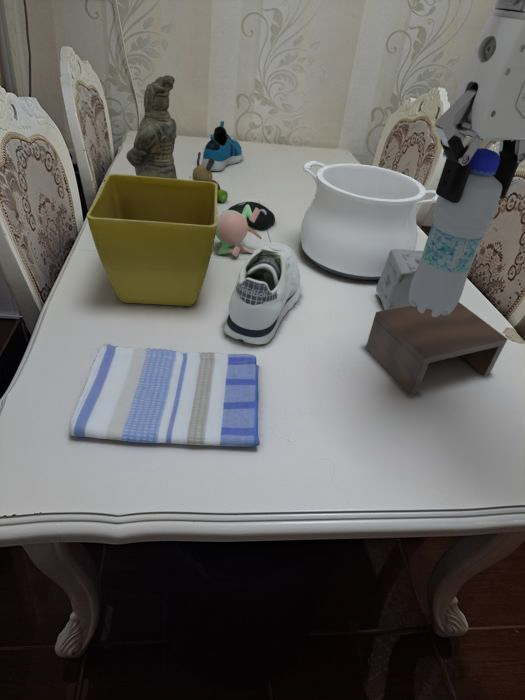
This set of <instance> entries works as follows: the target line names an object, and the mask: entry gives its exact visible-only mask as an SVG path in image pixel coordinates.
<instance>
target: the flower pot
mask: <svg viewBox="0 0 525 700" xmlns="http://www.w3.org/2000/svg"><path fill="white" fill-rule="evenodd" d="M217 189H218V185H217V184H216V183H214V182H207V181H195V180H193V179H183V178H177V179H172V178H160V177H148V176H136V174H135V175H134V174H133V175H132V174H125V173H110V174H108V175H107V176H106V178H105V179H104V182H103V184H102V186H101V188H100V189H99V192H98V194H97V195H96V197H95V199H94V201H93V202H92V204H91V206H90V208H89V209H88V212H87V213H86V218H87V222H88V226H89V230H90V234H91V237H92V240H93V243H94V246H95V249H96V252H97V254H98V256H99V260H100V263H101V266H102V267H103V269H104V272H105V274H106V277H107V278H108V281H109V282H110V284H111V286H112V288H113V290H114V292H115V294H116V296H117V297H118V299H119V301H121V302H122V303H124V304H125V303H128V304H142V305H143V304H144V305H164V306H167V305H168V306H179V307H180V306H182V307H183V306H184V307H191V306H193V305H195V304H196V301H197V299H198V297H199V294H200V292H201V290H202V286H203V284H204V281H205V278H206V276H207V271H208V268H209V265H210V261H211V257H212V254H213V249H214V245H215V239H216V229H217V216H218V200H217Z"/></svg>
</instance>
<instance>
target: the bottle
mask: <svg viewBox="0 0 525 700" xmlns="http://www.w3.org/2000/svg"><path fill="white" fill-rule="evenodd" d="M499 163H500V155H499V153H498V152H496V151H495V150H493V149H490V148H479V147H478V149H477V150H476V152H475V153H474V155H473V156H472V158H471V160H470V161H469V163H468V165H470V166H472V167H471V171H470V174H469V177H468V180H467V182H466V185H465V188H464V191H463V194H462V196H461V199H460V201H459V202H458V203H452V202H450V201H448V200H446V199H444V198H442V197H440V196H438V198H437V200H436V203H435V207H434V209H433V211H432V213H433V221H432V224H431V226H430V229H429V232H428V235H427V238H426V242H425V245H424V247H423V250H422V251H423V254H422V257H421V260H420V263H419V265H418V267H417V270H416V272H415V275H414V277H413V280H412V282H411V286H410V291H409V302H410V304H411V305H412V306H413V307H416V306H417V309H418V312H420V313H424V312H425V310H426V309H431V310H432V316H433V317H438V316H439V315H440V314H442V315H448V314H450V313H451V312H452V311H453V310H454V308H455V307H456V306H457V304H458V302H459V303H460V300H461V297H462V294H463V292H464V288H465V285H466V281H467V279H468V276H469V272H470V270H471V268H472V265H473V262H474V261H475V260H474V259H475V258H476V255H477V253H478V250H479V248H480V245H481V243H482V240H483V237H484V234H485V233H486V231H487V230H488V229H489V228H491V226H492V222H493V220H494V218H495V217H496V215H497V211H498V207H499V203H500V200H501V199H500V195H501V192H502V184H501V183H500V182H499V181H498V180H497V179H496V178H495V177H493V176H492V175H495V173H496V171H497V168H498V166H499Z"/></svg>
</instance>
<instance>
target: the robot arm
mask: <svg viewBox="0 0 525 700" xmlns="http://www.w3.org/2000/svg"><path fill="white" fill-rule="evenodd" d="M457 90H458V91H457V93H456V96H455V99H454V102H453V103H452V105H450V106H449V108H448V109H447V110H446V111H445V112H443V114H442V115H440V117H439V118H437V120H436V121H435V123H434V127H435V130H436V133H437V134H438V137H439V139H440V140H439V142H440V146H441V148H442V150H443V152H442V157H443V158H444V159H445V161H444V164H443V168H442V171H441V173H440V177H439V180H438V183H437V187H436V189H435V191H436V194H437V195H439V196H440V197H442V198H444V199H446V200H448V201H450V202H452V203H458V202H459V201H460V199H461V196H462V194H463V191H464V188H465V185H466V182H467V180H468V177H469V174H470V171H471V167H472V166H470V165H468V163H469V161H470V160H471V158H472V156H473V155H474V153H475V152H476V150H477V149H478V148H479V147H480V146H481V145H482V142H484V140H486V141H499V145H498V155H499V156H500V163H499V166H498V168H497V171H496V173H495V175H492V176H493V177H495V178H496V179H497V180H498V181H499V182H500V183H501V184H502V192H501V195H500V199H499V200H503V199H505V198H506V196H507V194H508V192H509V189H510V187H511V185H512V182H513V179H514V177H515V175H516V172H517V169H518V168H519V166H520V164H521V163H523V162H524V161H525V0H496V2H495V5H494V8H493V12H492V14H491V15H490V14H489V16H488V18H487V20H486V22H485V24H484V26H483V27H482V30H481V32H480V34H479V36H478V38H477V41H476V43H475V45H474V47H473V50H472V53H471V55H470V57H469V60H468V63H467V65H466V68H465V71H464V73H463V76H462V78H461V81H460V83H459V86H458V89H457ZM466 138H467V139H468V141H467V142H466V144H465V146H464V143H463V142H464V140H465V139H466Z"/></svg>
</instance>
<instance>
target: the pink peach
mask: <svg viewBox="0 0 525 700" xmlns="http://www.w3.org/2000/svg"><path fill="white" fill-rule="evenodd" d="M259 213H260V210H259V209H258V208H255V210H254V211H253V213H252V211H251V208H250V206H249V205H248V204H247V205H246V206H245V207H244V210H243V212H242V214H240V213H239V212H237V211H234V210H228V209H227V210H224V211H221V213H219V214H217V229H216V235H215V238H217V239H218V240H219V241H220V242H221V243H222V245H221V246H220V247H219V249H218V250H217V255H219V256H220V255H226V254H231V255H233V256H234V257H236V258H238V256H239V254H240V252H241V250H242V251H244V252H246V253H249V254H253V252H254V251H252V250H250V249H248V248H246V247H245V245H243V244H242V242H243V241H244V240H245V239H246V237H247V235H248V232H249V233H251V234H253V235H254V236H256V237H257V238H258V239H260V240H262V236H261V235H260V233H259V232H258V231H256V230H255V228H253V227H249V226H248V224H247V217H248V218H249V220H250V221H251V222H253V223H254V222H255V220H256V218H257V217H258V215H259ZM231 246H234V247H233V248H231Z"/></svg>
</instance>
